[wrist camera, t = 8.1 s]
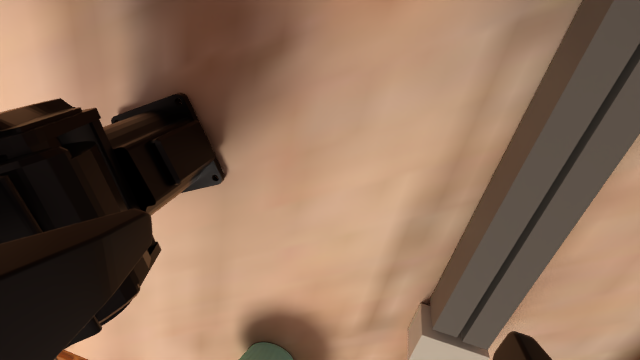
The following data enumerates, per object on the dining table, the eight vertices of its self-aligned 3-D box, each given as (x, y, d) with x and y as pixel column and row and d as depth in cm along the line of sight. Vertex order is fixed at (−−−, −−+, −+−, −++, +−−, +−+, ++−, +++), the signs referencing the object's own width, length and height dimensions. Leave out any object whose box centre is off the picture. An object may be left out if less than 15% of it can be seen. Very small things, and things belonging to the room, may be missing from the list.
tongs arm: (452, 306, 23) (457, 337, 21) (419, 295, 24) (420, 325, 21) (706, -142, 12) (777, -179, 10) (635, -152, 12) (687, -191, 10)
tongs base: (469, 350, 25) (476, 386, 23) (407, 329, 26) (407, 362, 23) (781, -120, 12) (878, -155, 9) (637, -141, 12) (693, -179, 10)
